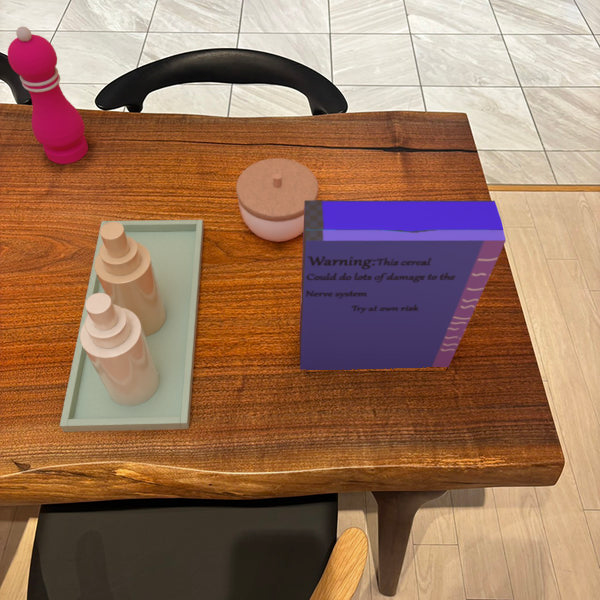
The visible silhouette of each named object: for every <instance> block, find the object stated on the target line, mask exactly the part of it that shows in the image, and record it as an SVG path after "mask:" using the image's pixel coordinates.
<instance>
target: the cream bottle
mask: <svg viewBox="0 0 600 600" xmlns="http://www.w3.org/2000/svg"><path fill="white" fill-rule="evenodd" d="M84 304H85V308H86V310H87V312H88V316H87V318H86V320H85V323H84V325H83V326H82V329H81V332H80V341H81V344H82V346H83V348H84V350H85V352H86V354H87V356H88V358H89V360H90V362H91V363H92V365H93V367H94V369H95V371H96V373H97V375H98V377H99V379H100V380H101V382H102V384H103V386H104V388H105V390H106V392H107V394H108V396H109V397H110V398H111V400H113V401H114V402H115V403H117V404H119V405H122V406H136V405H139V404H142V403H144V402H146V401H147V400H149V399H150V398H151V397H152V396H153V395H154V393H155V392H156V390H157V388H158V385H159V374H158V371H157V368H156V365H155V363H154V360H153V357H152V354H151V351H150V348H149V346H148V343H147V340H146V337H145V334H144V331H143V329H142V326H141V323H140V321H139V319H138V317H137V316H136V315H135V314H134V313H133V312H131V311H130V310H128V309H125V308H121V307H119V306H117V305H114V304H113V303H112V300H111V298H110V297H109V296H108V295H107V294H105V293H96V294H93V295H91V296H90V297H89V298H88V299H87V300H86V303H85V302H84Z"/></svg>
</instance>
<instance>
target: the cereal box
mask: <svg viewBox="0 0 600 600" xmlns="http://www.w3.org/2000/svg"><path fill="white" fill-rule="evenodd" d="M501 218H502V217H501V216H500V212H499V209H498V207H497V203H496V201H495V200H367V199H366V200H361V199H359V200H356V199H355V200H352V199H351V200H346V199H345V200H340V199H339V200H338V199H337V200H335V199H334V200H329V199H327V200H325V199H324V200H322V199H321V200H319V199H317V200H305V202H304V228H303V232H302V253H301V254H302V257H301V280H300V281H301V283H300V288H301V289H300V306H299V307H300V308H299V331H298V332H299V334H298V335H299V336H298V338H299V341H298V342H299V369H300V371H301V370H306V373H309V372H307V370H343V369H344V370H351V369H355V370H357V369H385V368H386V369H390V368H392V369H394V368H423V367H424V368H426V367H448V368H449V367H450V364H451V362H452V360H453V358H454V355H455V354H456V351H457V349H458V347H459V345H460V343H461V340H462V338H463V336H464V333H465V332H466V329H467V327H468V326H469V323H470V320H471V318H472V316H473V314H474V312H475V309H476V307H477V305H478V303H479V301H480V298H481V297H482V295H483V292H484V290H485V288H486V285H487V283H488V281H489V279H490V276H491V275H492V272H493V269H494V267H495V265H496V263H497V261H498V259H499V256H500V254H501V253H502V250H503V249H504V248H503V247H504V246H505V244H506V242H507V241H506V234H505V231H504V226H503V222H502V219H501Z"/></svg>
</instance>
